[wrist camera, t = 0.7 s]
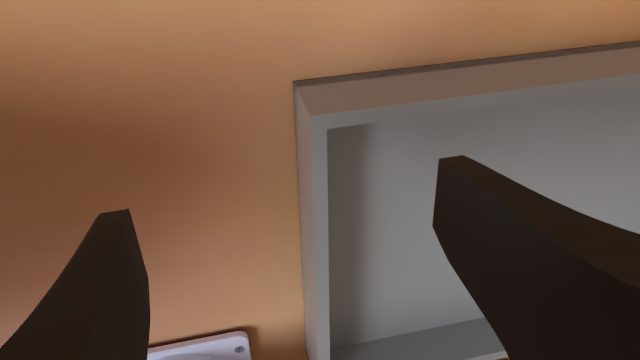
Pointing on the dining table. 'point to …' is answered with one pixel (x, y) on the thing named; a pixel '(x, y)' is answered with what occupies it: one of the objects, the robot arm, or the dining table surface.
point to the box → (421, 177)
